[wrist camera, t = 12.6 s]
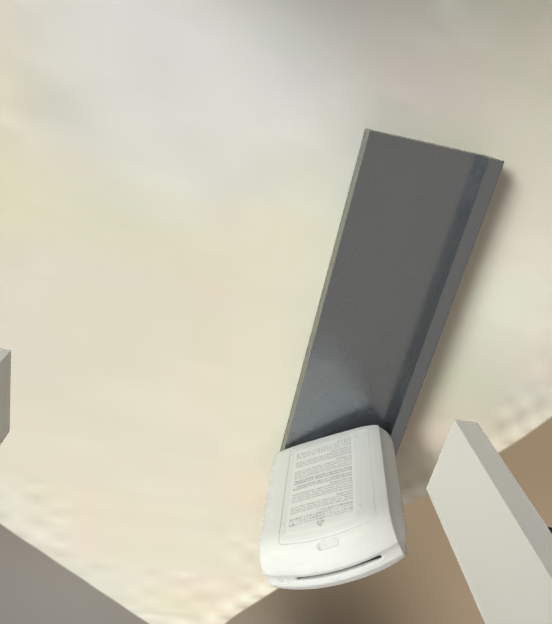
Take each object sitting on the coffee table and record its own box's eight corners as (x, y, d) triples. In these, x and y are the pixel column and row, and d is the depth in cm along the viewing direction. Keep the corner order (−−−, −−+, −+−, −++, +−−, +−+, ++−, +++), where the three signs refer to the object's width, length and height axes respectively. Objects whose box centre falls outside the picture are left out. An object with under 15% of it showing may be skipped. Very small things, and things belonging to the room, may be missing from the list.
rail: (365, 128, 36) (384, 136, 31) (487, 156, 37) (524, 167, 32) (269, 490, 48) (272, 537, 43) (363, 502, 50) (377, 550, 44)
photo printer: (286, 489, 46) (271, 616, 35) (266, 450, 45) (244, 569, 34) (399, 456, 44) (424, 582, 32) (382, 415, 43) (401, 530, 31)
